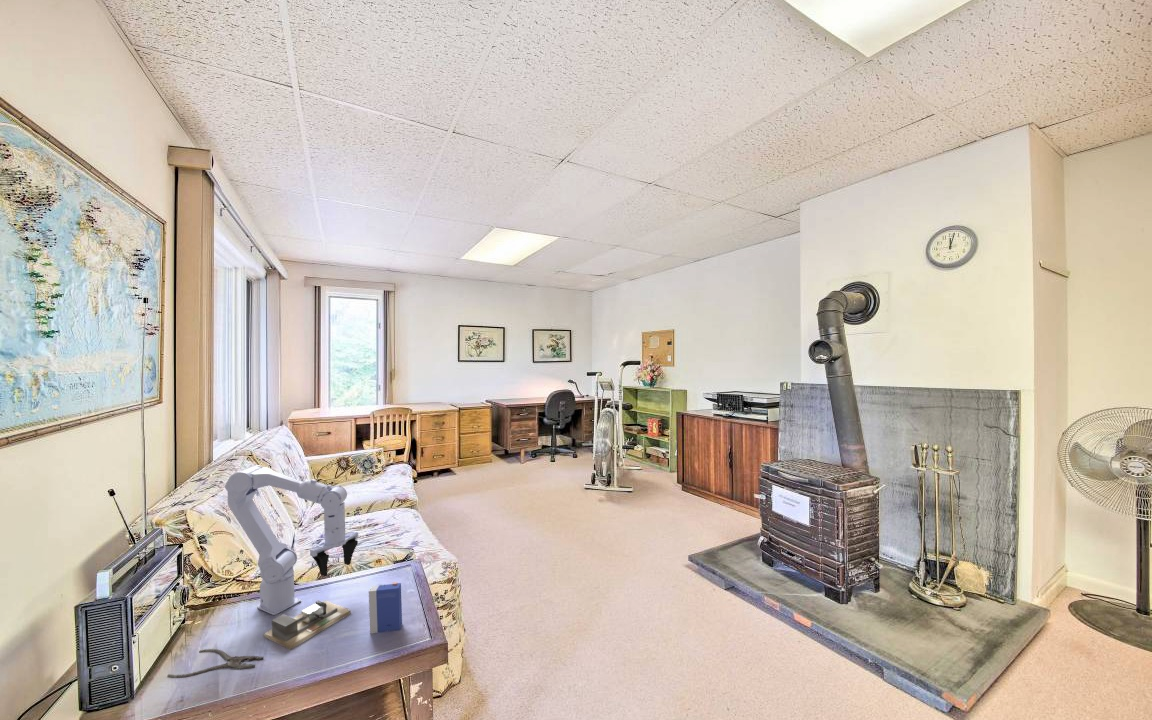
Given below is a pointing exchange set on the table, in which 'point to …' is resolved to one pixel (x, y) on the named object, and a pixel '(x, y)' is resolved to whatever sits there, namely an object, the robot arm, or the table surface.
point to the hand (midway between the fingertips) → (335, 569)
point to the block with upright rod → (314, 612)
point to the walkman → (385, 608)
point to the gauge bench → (303, 626)
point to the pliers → (233, 663)
